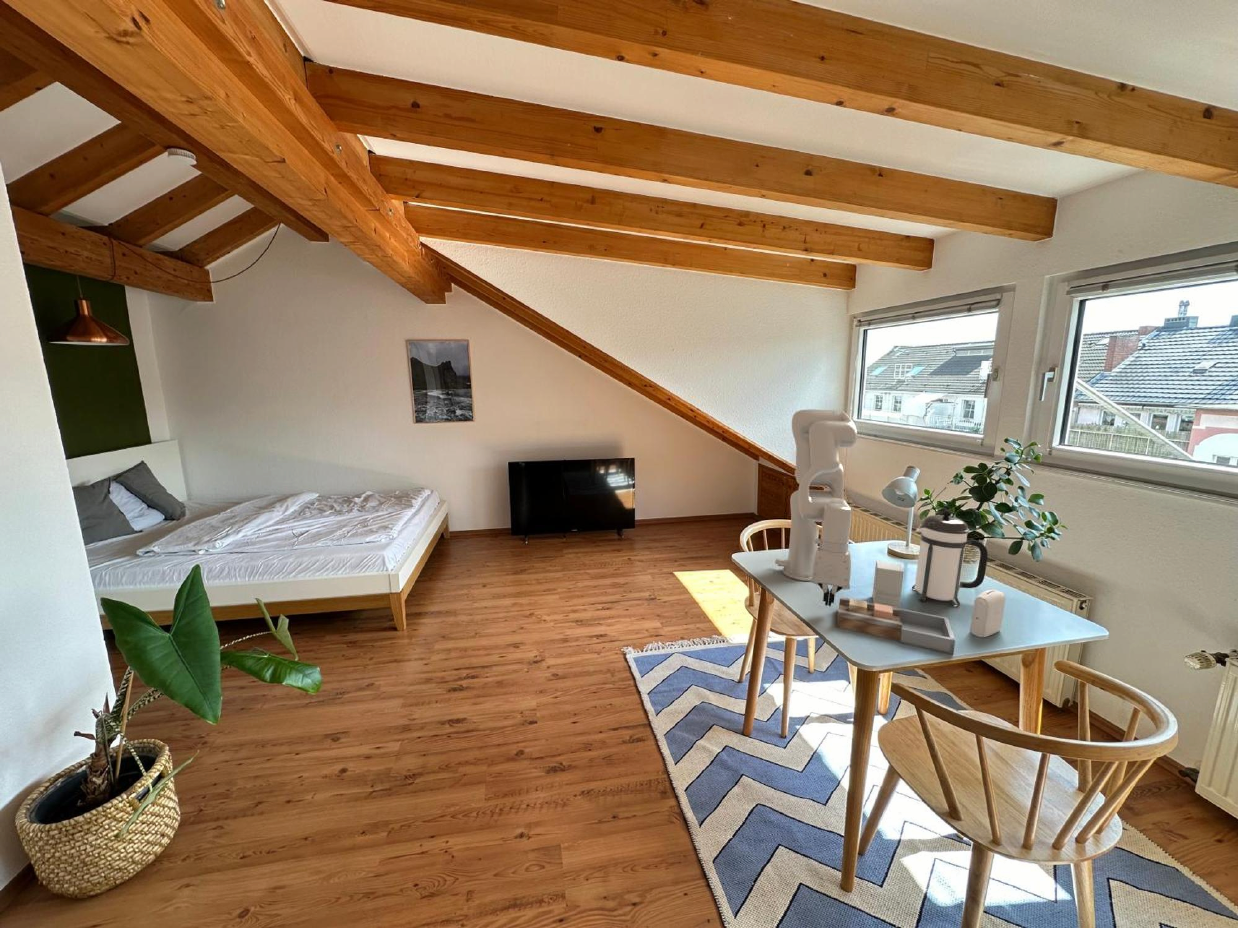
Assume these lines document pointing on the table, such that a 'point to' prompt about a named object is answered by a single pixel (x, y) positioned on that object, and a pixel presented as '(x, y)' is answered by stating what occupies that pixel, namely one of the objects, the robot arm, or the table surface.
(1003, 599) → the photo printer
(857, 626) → the slot block
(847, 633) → the table surface
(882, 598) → the supplement box
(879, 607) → the salmon orange block
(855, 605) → the beige block
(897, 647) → the table surface
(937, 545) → the coffee press
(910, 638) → the tray
